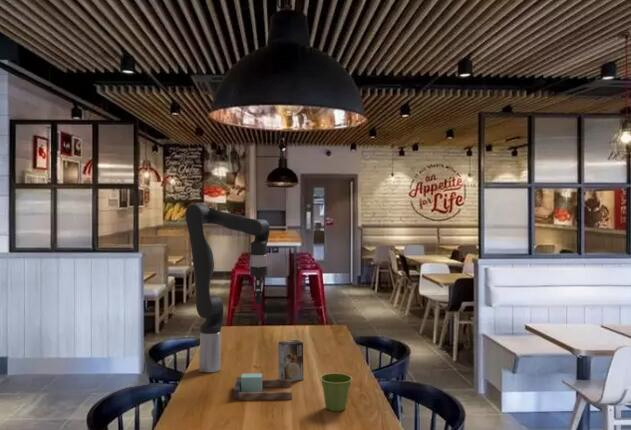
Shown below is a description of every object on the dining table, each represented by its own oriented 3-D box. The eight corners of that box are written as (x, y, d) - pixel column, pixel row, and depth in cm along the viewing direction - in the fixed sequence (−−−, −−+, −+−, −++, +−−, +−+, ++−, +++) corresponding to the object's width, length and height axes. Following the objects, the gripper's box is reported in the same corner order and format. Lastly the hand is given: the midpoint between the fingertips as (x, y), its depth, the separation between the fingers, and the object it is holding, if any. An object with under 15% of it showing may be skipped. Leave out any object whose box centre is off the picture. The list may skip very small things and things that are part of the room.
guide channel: (234, 400, 217) (234, 389, 217) (237, 386, 233) (237, 376, 233) (291, 399, 218) (291, 388, 218) (291, 385, 235) (291, 376, 235)
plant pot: (328, 416, 201) (328, 384, 200) (314, 405, 211) (314, 375, 211) (358, 411, 205) (358, 380, 205) (343, 401, 216) (343, 371, 216)
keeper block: (241, 395, 223) (241, 377, 223) (242, 391, 228) (242, 373, 228) (261, 395, 223) (261, 377, 223) (262, 390, 228) (262, 373, 228)
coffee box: (297, 376, 248) (297, 339, 248) (303, 380, 243) (303, 342, 242) (277, 378, 244) (278, 341, 244) (284, 383, 238) (284, 344, 238)
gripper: (250, 263, 255) (250, 299, 255) (249, 266, 241) (249, 305, 241) (267, 263, 255) (267, 299, 255) (266, 266, 241) (266, 305, 241)
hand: (258, 302), depth 248 cm, fingers open, 8 cm apart
